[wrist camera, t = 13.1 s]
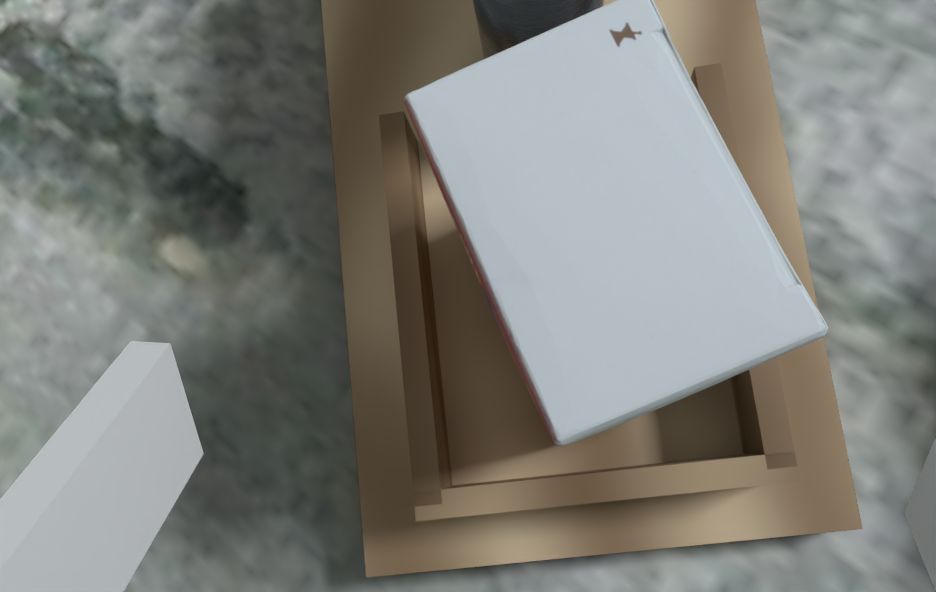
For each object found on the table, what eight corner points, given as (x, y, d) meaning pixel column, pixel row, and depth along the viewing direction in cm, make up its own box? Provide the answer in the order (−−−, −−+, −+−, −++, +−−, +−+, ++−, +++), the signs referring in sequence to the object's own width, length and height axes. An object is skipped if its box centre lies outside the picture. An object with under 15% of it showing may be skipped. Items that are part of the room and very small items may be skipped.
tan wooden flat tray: (713, -136, 29) (737, -226, 26) (844, 524, 25) (898, 538, 21) (325, -69, 31) (291, -144, 27) (376, 570, 26) (344, 591, 22)
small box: (457, 226, 26) (393, 84, 16) (611, 159, 26) (645, -28, 16) (554, 451, 25) (551, 454, 14) (720, 381, 24) (838, 332, 14)
